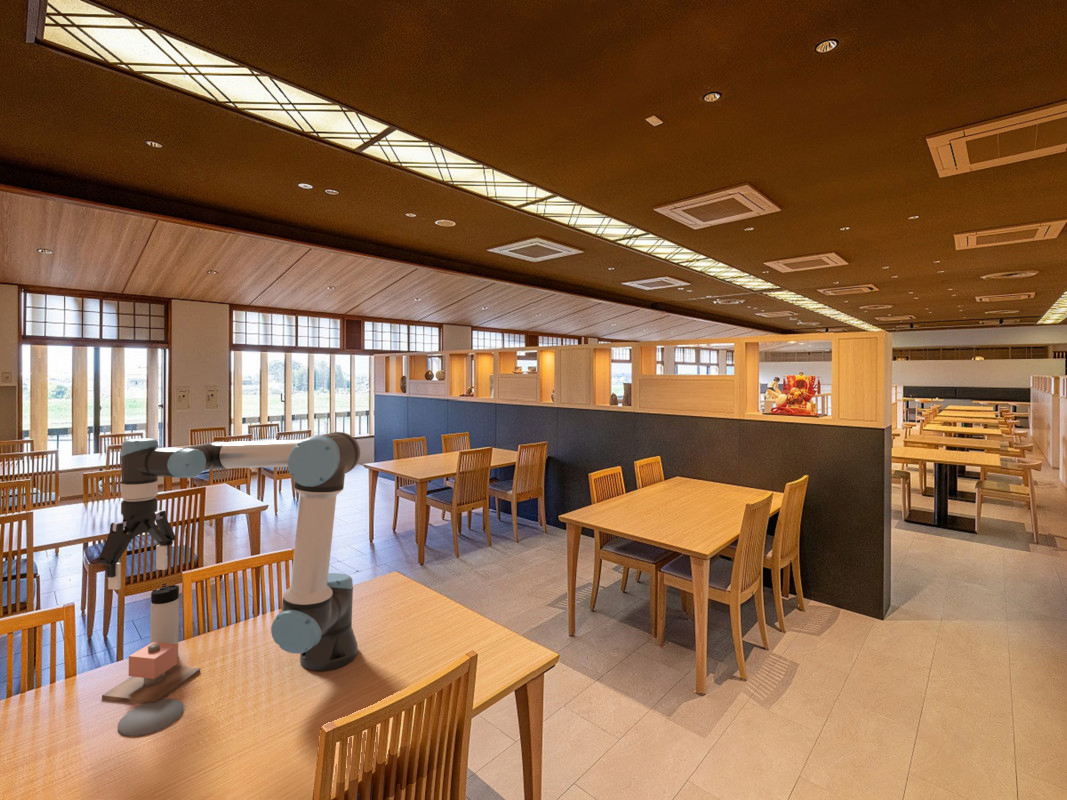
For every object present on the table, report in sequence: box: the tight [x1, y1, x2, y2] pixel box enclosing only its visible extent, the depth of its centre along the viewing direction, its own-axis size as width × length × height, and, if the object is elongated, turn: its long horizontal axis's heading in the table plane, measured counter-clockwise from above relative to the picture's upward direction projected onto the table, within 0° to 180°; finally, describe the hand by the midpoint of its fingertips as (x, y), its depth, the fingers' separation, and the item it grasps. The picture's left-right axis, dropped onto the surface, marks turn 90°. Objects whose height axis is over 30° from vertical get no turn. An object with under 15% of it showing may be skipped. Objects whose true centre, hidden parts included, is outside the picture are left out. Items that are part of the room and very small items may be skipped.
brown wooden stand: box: [101, 665, 201, 705], centre depth 127 cm, size 14×14×7 cm
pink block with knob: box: [128, 642, 179, 679], centre depth 127 cm, size 7×7×6 cm
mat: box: [117, 698, 185, 737], centre depth 115 cm, size 12×12×1 cm
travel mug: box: [149, 584, 180, 645], centre depth 138 cm, size 6×7×20 cm
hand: (139, 578), depth 132 cm, fingers open, 13 cm apart
